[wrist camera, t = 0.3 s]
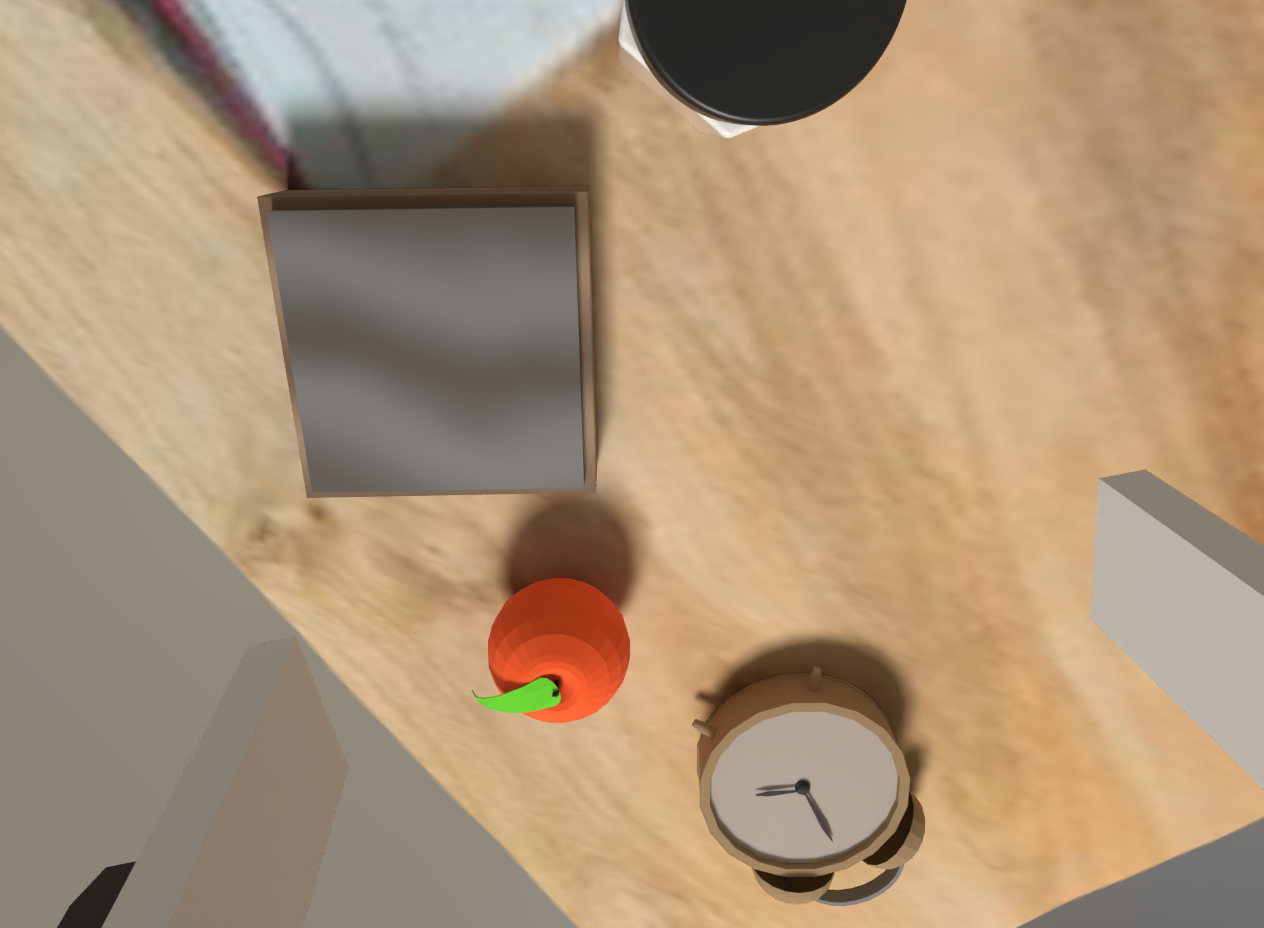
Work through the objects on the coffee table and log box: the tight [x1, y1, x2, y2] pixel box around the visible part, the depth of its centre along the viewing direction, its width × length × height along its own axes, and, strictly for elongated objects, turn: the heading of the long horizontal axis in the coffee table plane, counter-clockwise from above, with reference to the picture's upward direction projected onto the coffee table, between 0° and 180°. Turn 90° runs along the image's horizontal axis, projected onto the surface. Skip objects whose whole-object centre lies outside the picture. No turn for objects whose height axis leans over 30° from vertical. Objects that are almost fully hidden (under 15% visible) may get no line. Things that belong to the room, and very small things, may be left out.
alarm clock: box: [692, 666, 925, 906], centre depth 48 cm, size 11×5×15 cm
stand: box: [257, 186, 597, 498], centre depth 38 cm, size 13×13×4 cm
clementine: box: [472, 578, 630, 723], centre depth 42 cm, size 8×7×7 cm
